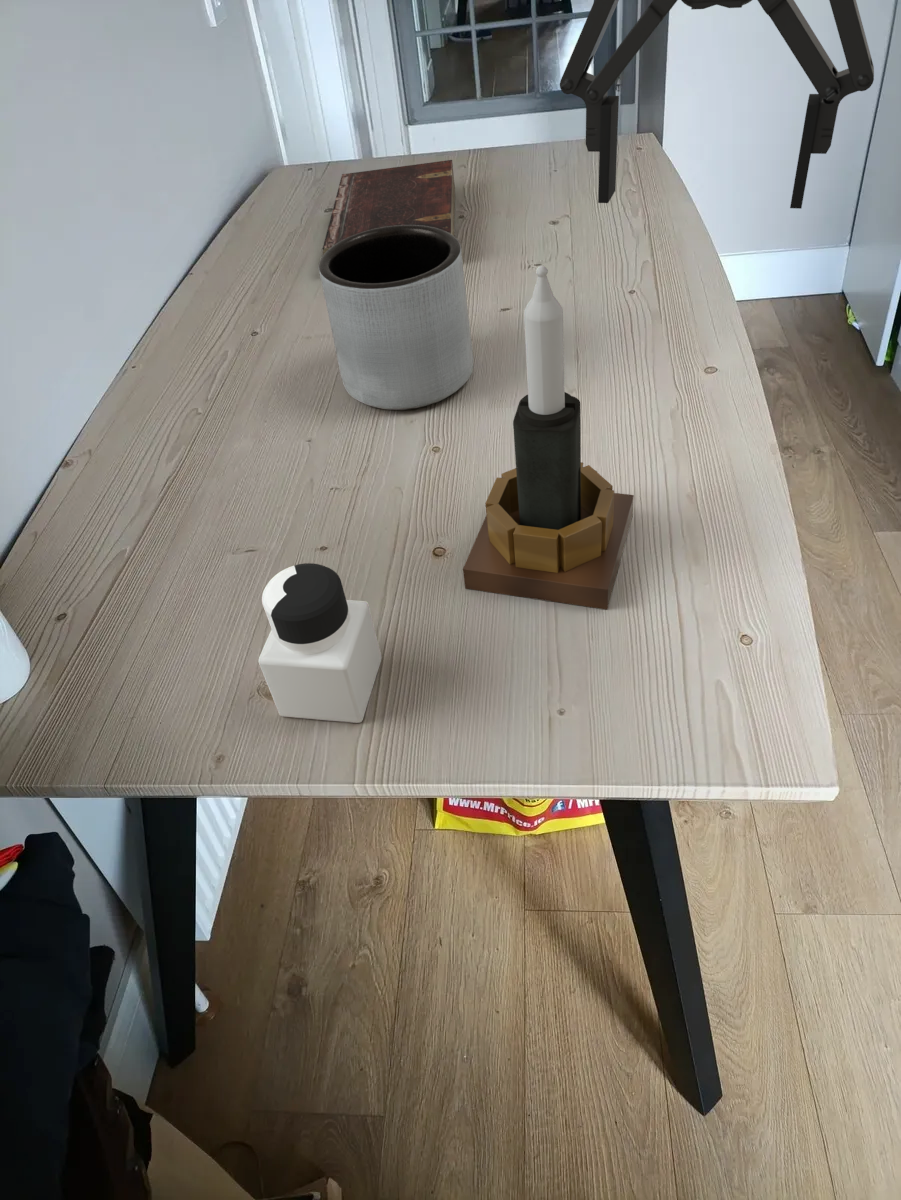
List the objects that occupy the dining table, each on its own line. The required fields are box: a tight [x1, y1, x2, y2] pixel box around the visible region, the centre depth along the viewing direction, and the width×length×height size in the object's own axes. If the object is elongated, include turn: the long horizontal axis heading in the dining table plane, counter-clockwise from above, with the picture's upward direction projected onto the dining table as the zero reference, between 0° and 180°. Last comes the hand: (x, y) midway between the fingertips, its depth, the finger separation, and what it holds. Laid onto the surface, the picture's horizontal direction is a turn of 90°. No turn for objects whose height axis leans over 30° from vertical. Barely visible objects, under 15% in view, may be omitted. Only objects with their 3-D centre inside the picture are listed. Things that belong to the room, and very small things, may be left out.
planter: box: [318, 225, 474, 411], centre depth 101 cm, size 16×16×16 cm
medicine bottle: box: [257, 562, 382, 724], centre depth 69 cm, size 7×7×12 cm
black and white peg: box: [512, 264, 582, 530], centre depth 72 cm, size 5×5×25 cm
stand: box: [462, 461, 635, 610], centre depth 80 cm, size 13×13×6 cm
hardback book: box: [321, 159, 456, 257], centre depth 136 cm, size 29×19×5 cm, turn 0°
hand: (698, 199), depth 64 cm, fingers open, 13 cm apart
